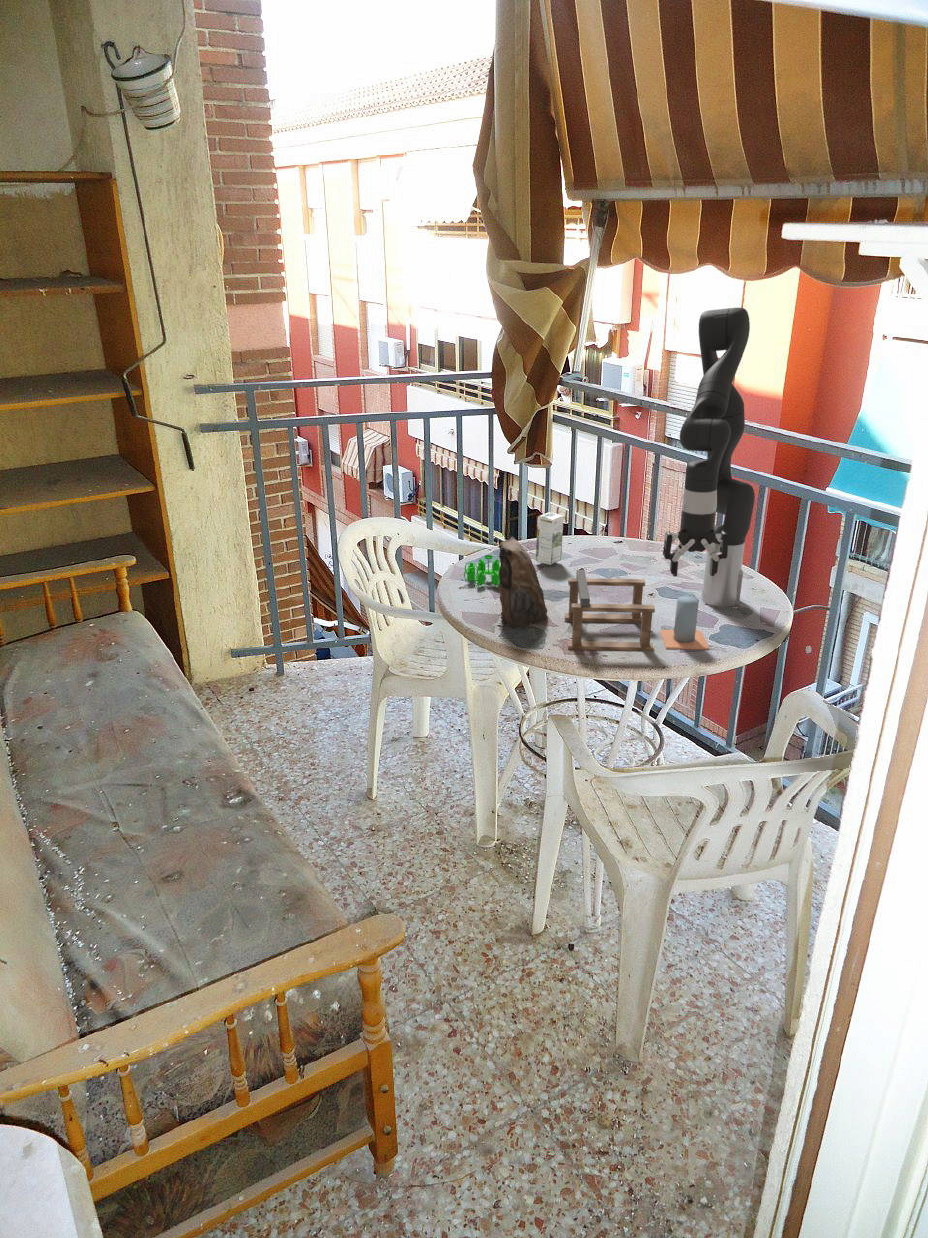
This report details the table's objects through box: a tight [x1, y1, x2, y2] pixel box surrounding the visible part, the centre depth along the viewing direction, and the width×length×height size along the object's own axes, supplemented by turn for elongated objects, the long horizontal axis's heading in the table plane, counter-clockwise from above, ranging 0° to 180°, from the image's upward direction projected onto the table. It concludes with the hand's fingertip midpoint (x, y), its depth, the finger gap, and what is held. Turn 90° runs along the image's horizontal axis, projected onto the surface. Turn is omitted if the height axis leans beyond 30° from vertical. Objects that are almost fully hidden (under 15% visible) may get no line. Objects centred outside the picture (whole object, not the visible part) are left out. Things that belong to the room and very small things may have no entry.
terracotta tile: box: [659, 629, 710, 650], centre depth 205 cm, size 10×10×1 cm
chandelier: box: [463, 554, 500, 587], centre depth 245 cm, size 15×15×7 cm
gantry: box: [564, 577, 656, 651], centre depth 208 cm, size 20×20×11 cm
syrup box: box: [535, 512, 565, 566], centre depth 257 cm, size 6×6×14 cm
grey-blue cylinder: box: [673, 595, 700, 643], centre depth 203 cm, size 5×5×10 cm
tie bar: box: [575, 569, 591, 607], centre depth 206 cm, size 2×19×2 cm, turn 176°
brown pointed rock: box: [496, 536, 549, 629], centre depth 216 cm, size 13×13×20 cm
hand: (693, 575), depth 198 cm, fingers open, 8 cm apart
